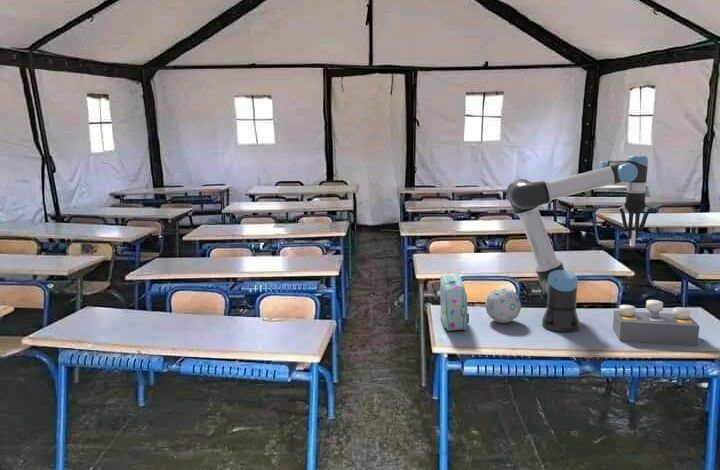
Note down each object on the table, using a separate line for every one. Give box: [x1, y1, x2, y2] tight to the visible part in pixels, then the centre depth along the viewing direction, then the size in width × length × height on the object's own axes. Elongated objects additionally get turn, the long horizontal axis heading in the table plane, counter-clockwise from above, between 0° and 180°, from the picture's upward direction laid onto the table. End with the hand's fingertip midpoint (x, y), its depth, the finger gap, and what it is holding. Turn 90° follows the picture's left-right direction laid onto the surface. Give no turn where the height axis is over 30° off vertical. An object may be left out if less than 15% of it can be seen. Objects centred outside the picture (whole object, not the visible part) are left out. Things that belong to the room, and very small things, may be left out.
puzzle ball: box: [484, 287, 522, 324], centre depth 251 cm, size 15×15×15 cm
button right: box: [671, 306, 691, 320], centre depth 229 cm, size 6×6×8 cm
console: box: [612, 310, 700, 346], centre depth 230 cm, size 28×14×8 cm, turn 77°
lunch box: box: [439, 273, 470, 332], centre depth 248 cm, size 27×10×21 cm, turn 179°
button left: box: [618, 304, 636, 317], centre depth 234 cm, size 6×6×8 cm
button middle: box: [645, 299, 664, 318], centre depth 231 cm, size 6×6×8 cm
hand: (632, 245), depth 249 cm, fingers closed
